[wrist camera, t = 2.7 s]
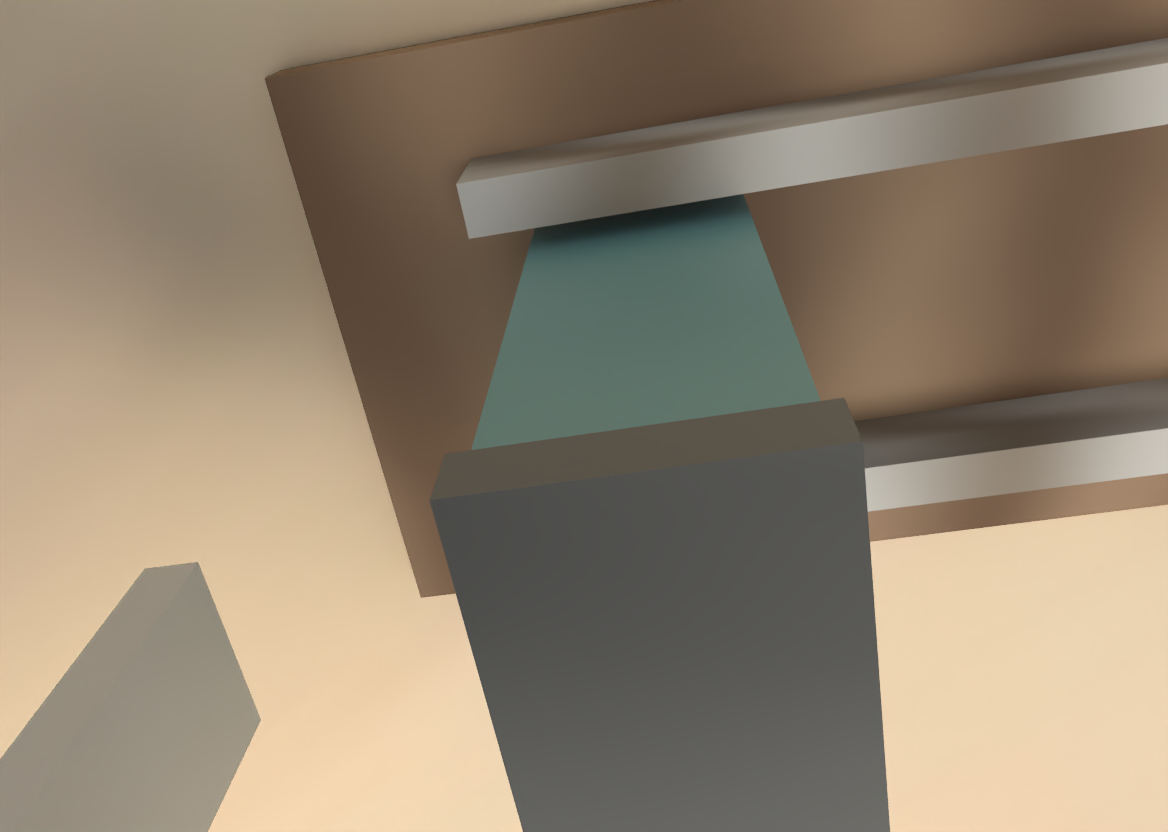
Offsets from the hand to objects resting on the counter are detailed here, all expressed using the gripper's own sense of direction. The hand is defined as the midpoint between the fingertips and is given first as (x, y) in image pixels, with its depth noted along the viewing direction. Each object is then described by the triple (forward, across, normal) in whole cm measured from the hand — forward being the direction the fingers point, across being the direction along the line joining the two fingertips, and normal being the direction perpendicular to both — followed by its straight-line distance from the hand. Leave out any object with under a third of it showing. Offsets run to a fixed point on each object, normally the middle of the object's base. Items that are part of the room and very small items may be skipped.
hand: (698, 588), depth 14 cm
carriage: (+9, 0, 0) cm, 9 cm away
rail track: (+10, +7, 0) cm, 12 cm away
